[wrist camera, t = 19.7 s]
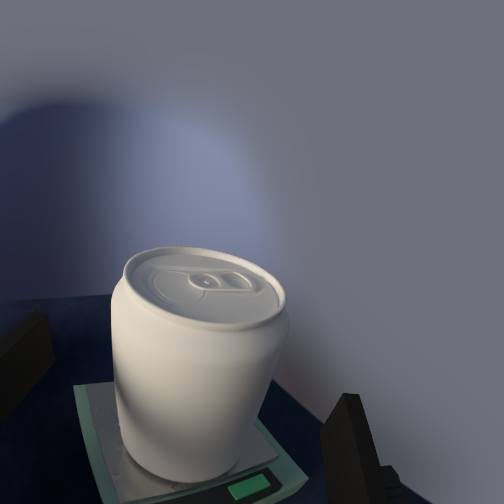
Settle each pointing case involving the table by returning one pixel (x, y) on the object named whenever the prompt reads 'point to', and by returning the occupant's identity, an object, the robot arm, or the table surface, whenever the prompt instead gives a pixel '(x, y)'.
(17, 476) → the table surface
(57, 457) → the table surface
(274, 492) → the scale
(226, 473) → the weighing plate
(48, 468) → the table surface
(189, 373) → the beverage can
